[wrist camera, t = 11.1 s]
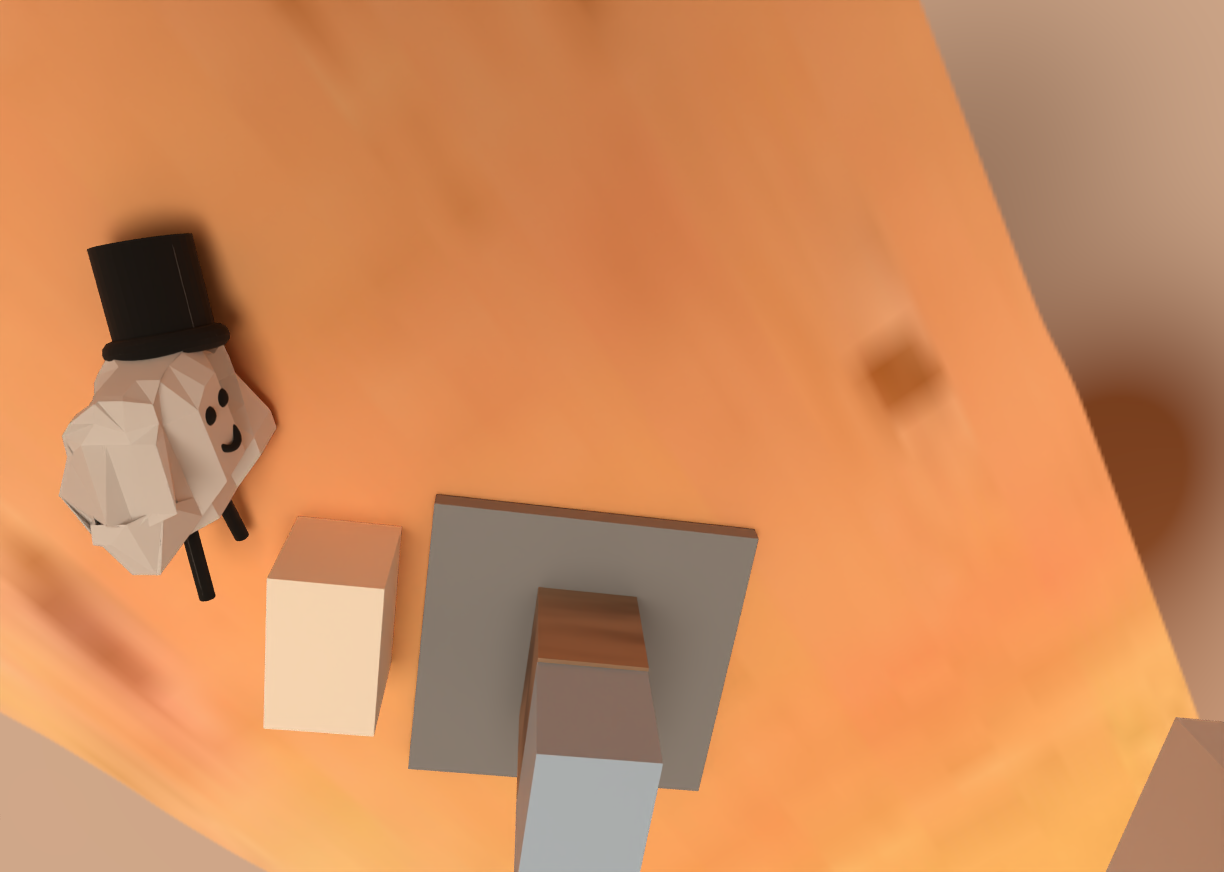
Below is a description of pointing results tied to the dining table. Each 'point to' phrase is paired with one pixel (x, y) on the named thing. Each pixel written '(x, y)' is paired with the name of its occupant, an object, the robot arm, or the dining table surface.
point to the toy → (161, 414)
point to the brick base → (581, 639)
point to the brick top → (587, 771)
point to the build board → (580, 561)
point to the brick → (330, 626)
